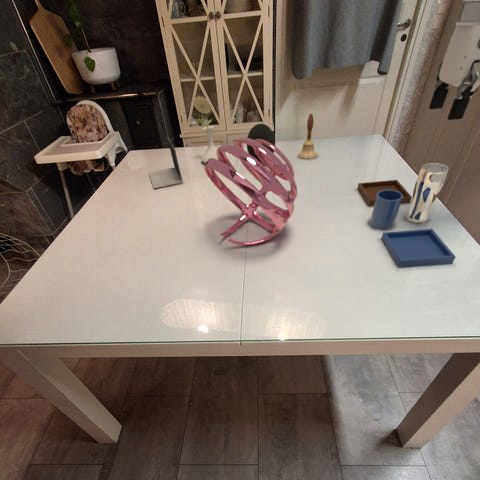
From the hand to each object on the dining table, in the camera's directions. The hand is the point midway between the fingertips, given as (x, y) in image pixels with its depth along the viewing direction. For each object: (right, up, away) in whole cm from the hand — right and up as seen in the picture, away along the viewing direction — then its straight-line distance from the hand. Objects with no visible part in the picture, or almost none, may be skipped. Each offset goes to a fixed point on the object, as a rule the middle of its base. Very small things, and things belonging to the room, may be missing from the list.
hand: (444, 113), depth 72 cm
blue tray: (-2, -31, +9) cm, 33 cm away
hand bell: (-19, +24, +62) cm, 70 cm away
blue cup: (-6, -21, +20) cm, 29 cm away
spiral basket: (-45, -22, +23) cm, 55 cm away
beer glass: (+5, -19, +20) cm, 28 cm away
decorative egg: (-40, +21, +62) cm, 77 cm away
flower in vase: (-63, +25, +69) cm, 96 cm away
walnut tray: (0, -7, +31) cm, 32 cm away
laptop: (-83, +12, +59) cm, 103 cm away
